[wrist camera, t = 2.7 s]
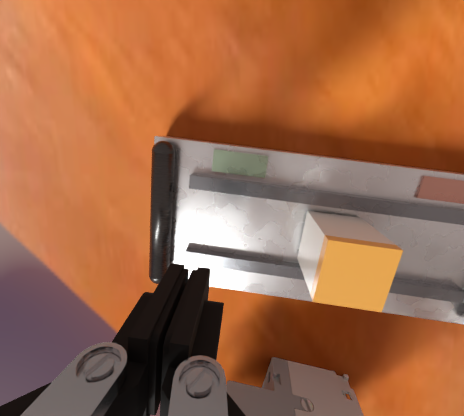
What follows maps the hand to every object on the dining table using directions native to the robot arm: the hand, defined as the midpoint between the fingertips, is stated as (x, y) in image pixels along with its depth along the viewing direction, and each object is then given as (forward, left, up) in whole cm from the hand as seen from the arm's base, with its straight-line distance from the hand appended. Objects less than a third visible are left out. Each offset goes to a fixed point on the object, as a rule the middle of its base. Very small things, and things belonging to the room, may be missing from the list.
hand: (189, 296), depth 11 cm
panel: (-9, 0, -12) cm, 15 cm away
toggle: (-9, 0, -10) cm, 13 cm away
